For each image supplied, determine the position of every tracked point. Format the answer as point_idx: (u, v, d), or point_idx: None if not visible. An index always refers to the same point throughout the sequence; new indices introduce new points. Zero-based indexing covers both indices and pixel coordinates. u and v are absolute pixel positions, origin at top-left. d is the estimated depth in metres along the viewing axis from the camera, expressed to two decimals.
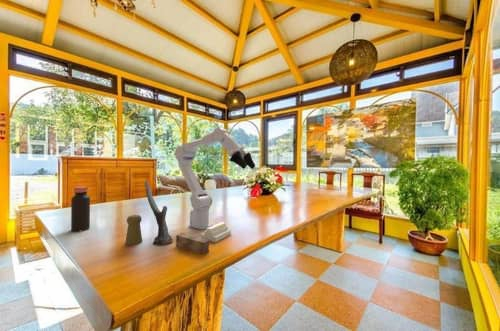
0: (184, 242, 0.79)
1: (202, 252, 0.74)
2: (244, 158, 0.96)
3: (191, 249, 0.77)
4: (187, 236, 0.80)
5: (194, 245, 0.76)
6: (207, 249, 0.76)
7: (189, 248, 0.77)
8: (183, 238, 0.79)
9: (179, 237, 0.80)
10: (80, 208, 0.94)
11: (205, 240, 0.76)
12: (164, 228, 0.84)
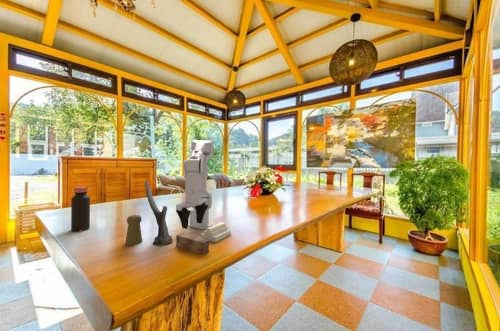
0: (184, 242, 0.79)
1: (202, 252, 0.74)
2: (198, 206, 0.82)
3: (191, 249, 0.77)
4: (187, 236, 0.80)
5: (194, 245, 0.76)
6: (207, 249, 0.76)
7: (189, 248, 0.77)
8: (183, 238, 0.79)
9: (179, 237, 0.80)
10: (80, 208, 0.94)
11: (205, 240, 0.76)
12: (164, 228, 0.84)
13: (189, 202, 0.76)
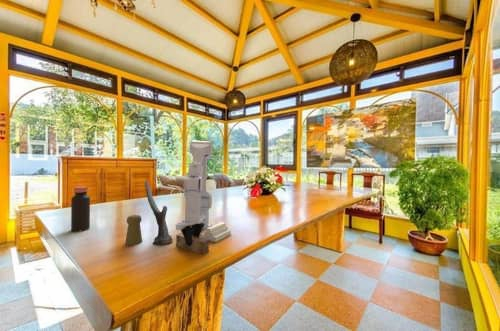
0: (184, 242, 0.79)
1: (202, 252, 0.74)
2: (194, 225, 0.80)
3: (191, 249, 0.77)
4: None
5: (194, 245, 0.76)
6: (207, 249, 0.76)
7: (189, 248, 0.77)
8: (183, 237, 0.79)
9: (179, 237, 0.80)
10: (80, 208, 0.94)
11: (205, 240, 0.76)
12: (164, 228, 0.84)
13: (189, 221, 0.76)
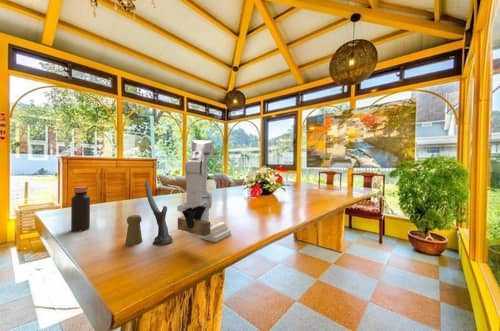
0: (186, 224, 0.79)
1: (204, 233, 0.75)
2: (196, 208, 0.81)
3: (193, 231, 0.77)
4: None
5: (196, 227, 0.77)
6: (208, 231, 0.77)
7: (191, 230, 0.78)
8: (184, 220, 0.79)
9: (181, 220, 0.80)
10: (80, 208, 0.94)
11: (206, 222, 0.77)
12: (164, 228, 0.84)
13: (190, 203, 0.76)
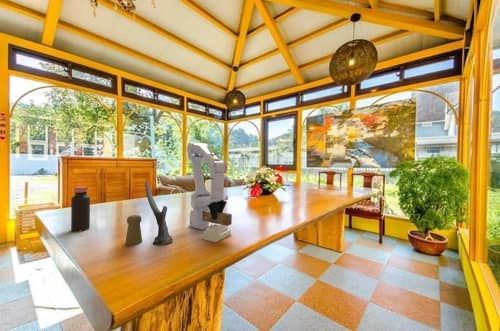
0: (210, 216, 0.92)
1: (226, 223, 0.87)
2: (218, 202, 0.93)
3: (216, 222, 0.90)
4: None
5: (219, 218, 0.89)
6: (230, 221, 0.89)
7: (215, 221, 0.90)
8: (209, 213, 0.92)
9: (205, 212, 0.93)
10: (80, 208, 0.94)
11: (228, 214, 0.89)
12: (164, 228, 0.84)
13: (215, 198, 0.89)
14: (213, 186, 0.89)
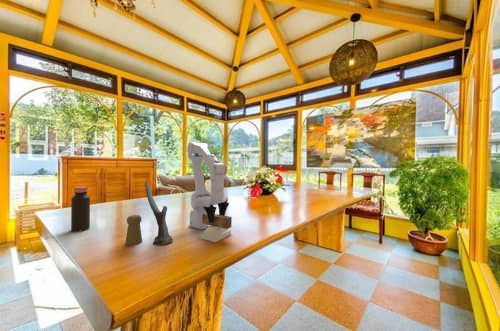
0: None
1: (226, 226, 0.87)
2: (221, 204, 0.95)
3: (216, 225, 0.90)
4: None
5: (219, 221, 0.89)
6: (230, 224, 0.89)
7: (215, 224, 0.90)
8: None
9: (205, 215, 0.93)
10: (80, 208, 0.94)
11: (228, 217, 0.89)
12: (164, 228, 0.84)
13: (214, 200, 0.89)
14: (213, 188, 0.89)
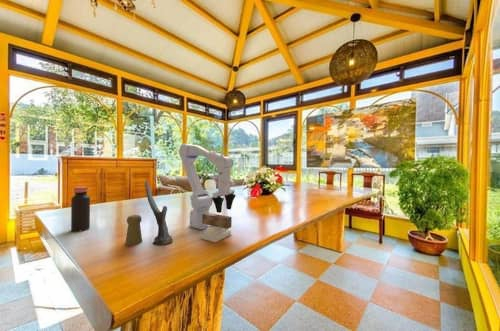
0: (210, 219, 0.92)
1: (226, 226, 0.87)
2: (227, 196, 1.00)
3: (216, 225, 0.90)
4: (212, 214, 0.93)
5: (219, 221, 0.89)
6: (230, 224, 0.89)
7: (215, 224, 0.90)
8: (209, 216, 0.92)
9: (205, 215, 0.93)
10: (80, 208, 0.94)
11: (228, 217, 0.89)
12: (164, 228, 0.84)
13: (222, 191, 0.94)
14: (222, 180, 0.94)
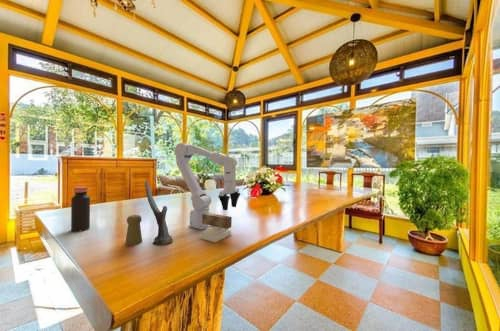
0: (210, 219, 0.92)
1: (226, 226, 0.87)
2: (233, 194, 1.05)
3: (216, 225, 0.90)
4: (212, 214, 0.93)
5: (219, 221, 0.89)
6: (230, 224, 0.89)
7: (215, 224, 0.90)
8: (209, 216, 0.92)
9: (205, 215, 0.93)
10: (80, 208, 0.94)
11: (228, 217, 0.89)
12: (164, 228, 0.84)
13: (228, 190, 0.99)
14: (230, 179, 0.99)
